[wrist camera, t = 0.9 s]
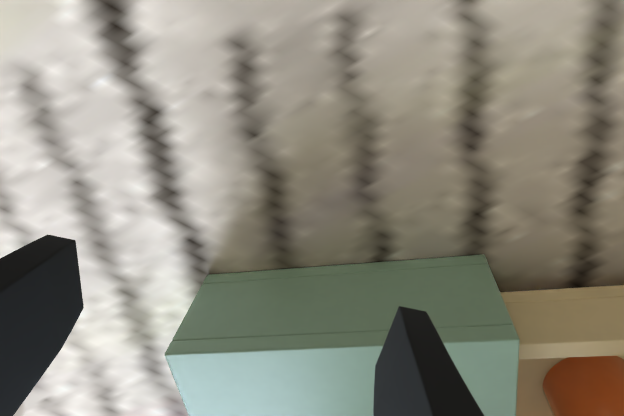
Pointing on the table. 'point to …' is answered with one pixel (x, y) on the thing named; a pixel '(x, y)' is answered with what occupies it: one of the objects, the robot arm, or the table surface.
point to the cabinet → (336, 336)
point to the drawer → (561, 333)
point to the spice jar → (586, 386)
